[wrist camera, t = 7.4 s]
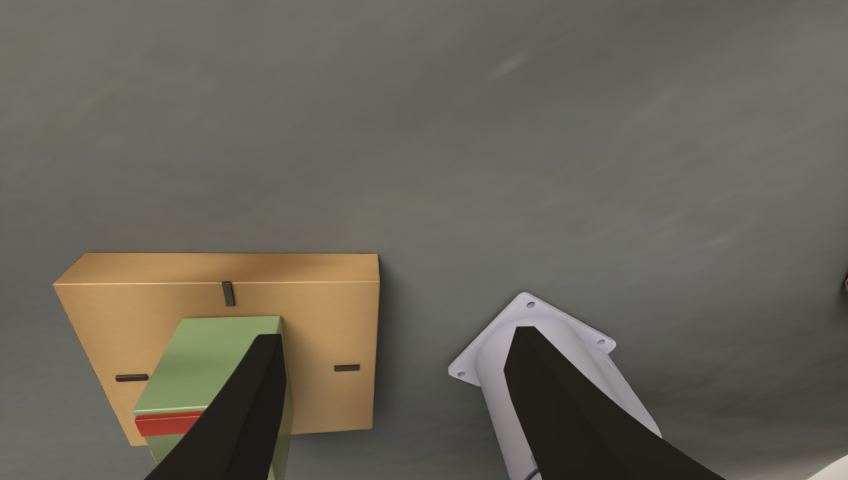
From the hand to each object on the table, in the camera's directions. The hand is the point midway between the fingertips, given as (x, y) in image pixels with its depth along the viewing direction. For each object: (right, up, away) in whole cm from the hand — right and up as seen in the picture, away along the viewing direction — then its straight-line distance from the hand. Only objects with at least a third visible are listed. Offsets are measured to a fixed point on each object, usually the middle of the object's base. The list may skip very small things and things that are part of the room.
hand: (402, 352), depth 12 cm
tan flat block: (-9, -2, +11) cm, 15 cm away
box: (-9, -4, +9) cm, 13 cm away
